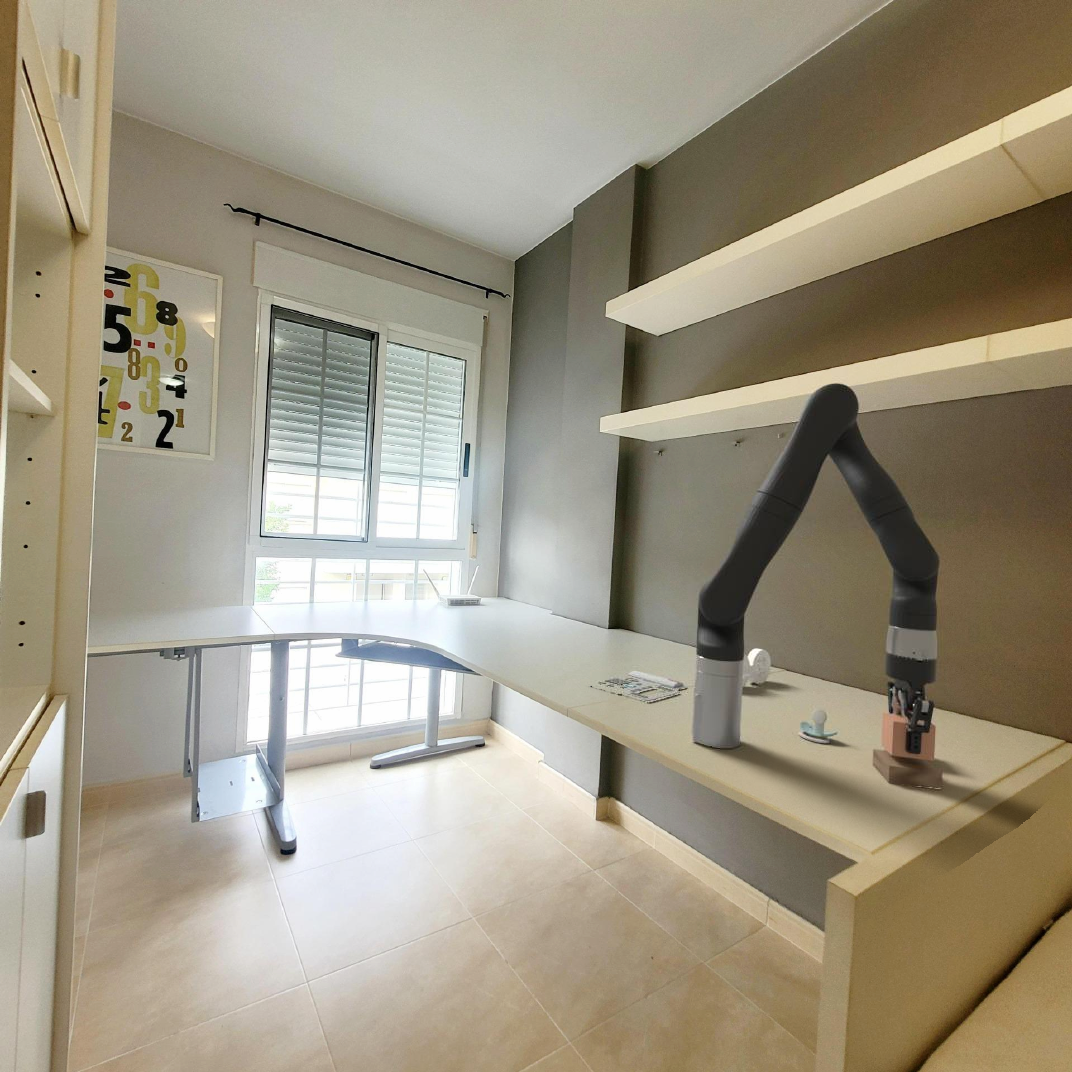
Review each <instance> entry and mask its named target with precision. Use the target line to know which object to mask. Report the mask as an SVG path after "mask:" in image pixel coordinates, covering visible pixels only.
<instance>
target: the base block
mask: <svg viewBox="0 0 1072 1072" xmlns="http://www.w3.org/2000/svg"><path fill="white" fill-rule="evenodd" d="M872 766H873V767H874V768H875V770H876V771H877V772H879V773H878V774H880V775H881V776H882V777H883V778H884V779H885V781H886V782H887V783H888V784H894V785H901V784H904V785H903V786H908V785H910V786H909V787H915V786H921V787H920V788H922V787H932V788H942V789H943V772H942V771H941V770H940V769H939V768H938V767H936V765H934V764H933V763H932V762H930V760H924V759H916V758H908V757H900V756H893V755H891V754H890V753H889V752H888V751H886V750H885V749H877V748H873V750H872Z"/></svg>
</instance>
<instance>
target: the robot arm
mask: <svg viewBox="0 0 1072 1072" xmlns="http://www.w3.org/2000/svg"><path fill="white" fill-rule="evenodd" d="M859 409H860V405H859V399H858V397H857V395H856V393H855V391H854V390H853V389H852V388H851V387H850V386H848V385H846V384H843V383H839V382H838V383H829V384H826V385H823V386H821V387H819V388H818V389H816V390H815V391H814V392H813V393H812V394H810V396H809V398H808V399H806V402H805V405H804V407H803V409H802V412H801V414H800V417H799V419H798V422H797V423H796V426H795V428H794V431H793V432H792V435H791V437H790V439H789V441H788V442H787V445H786V446H785V448H784V450H783V451H782V453H781V454H780V455H779V457H778V458H777V460H776V461H775V463H774V464H773V465H772V467H771V469H770V471H769V472H768V474H767V475H766V477H765V478H764V480H763V481H762V483H761V485H760V486H759V488H758V490H757V491H756V493H755V495H754V496H753V498H752V500H751V502H750V504H749V506H748V507H747V509H746V511H745V513H744V515H743V517H742V519H741V522H740V524H739V527H738V529H737V532H736V535H735V538H734V540H733V543H732V546H731V549H730V550H729V552H728V554H727V556H726V557H725V559H724V561H723V562H722V563H721V565H720V567H719V568H718V569H717V571H716V573H715V574H714V575H713V576H712V578H711V579H710V580H708V581H706V582H705V583H704V584H703V585H702V587H701V589H700V591H699V594H698V603H697V605H698V606H697V628H696V629H697V630H696V652H695V654H696V655H695V656H696V657H695V674H694V676H695V679H694V688H693V702H692V703H693V706H692V708H693V709H692V723H691V726H692V727H691V728H692V729H691V735H692V736H693V737H692V736H691V737H692V742H693V741H694V742H693V743H697V742H698V744H701V745H703V744H704V746H706V747H707V746H708V747H710V746H712V747H711V748H717V749H735V748H738V747H739V746H740V744H741V730H742V729H741V726H742V725H741V724H742V709H743V708H742V707H743V706H742V704H743V688H744V687H743V665H744V654H745V636H744V634H745V633H744V632H745V614H746V612H747V610H748V607H749V605H750V602H751V600H752V598H753V595H754V592H755V591H756V588H757V586H758V584H759V582H760V580H761V577H762V576H763V574H764V572H765V570H766V568H767V567H768V566H769V565H770V562H772V560H773V559H774V557H775V555H776V554H777V553H778V552H779V550H780V549H781V548H782V546H783V544H784V543H785V541H786V540H787V538H788V536H789V535H790V533H791V532H792V530H793V529H794V527H795V525H796V524H797V523H798V520H799V518H800V517H801V515H802V513H803V512H804V510H805V507H806V506H807V503H808V502H809V500H810V497H811V495H812V493H813V490H814V489H815V485H816V483H817V480H818V477H819V474H820V472H821V470H822V467H823V465H824V463H825V460H826V459H827V457H828V456H829V457H830V459H831V461H832V462H833V463H834V464H835V466H836V468H837V469H838V470H839V473H840V474H841V476H842V477H843V479H844V481H845V482H846V486H847V487H848V489H849V490H850V492H851V494H852V496H853V498H854V499H855V502H856V503H857V506H858V507H859V509H860V511H861V513H862V514H863V516H864V518H865V520H866V522H867V523H868V526H870V528H871V530H872V531H873V533H874V534H875V535H876V536H877V538H878V540H879V543H880V546H881V548H882V550H883V552H884V554H885V556H886V558H887V561H888V562H889V564H890V566H891V568H892V596H891V599H890V605H889V616H888V617H889V619H888V629H887V634H886V646H885V648H886V649H885V665H884V667H885V668H884V673H885V675H886V676H887V677H888V678H890V679H894V681H890V680H889V681H887V682H886V685H887V702H888V703H887V704H888V705H887V706H888V714H895V715H902V716H903V717H904V718H905V723H906V730H907V731H906V747H905V750H906V751H907V752H908V753H911V754H920V753H921V739H922V733H929V730H930V725H931V723H932V719H933V713H934V710H935V709H934V708H935V703H934V701H933V700H927V699H928V698H927V693H926V690H925V689H926V687H925V686H926V685H927V684H934V683H935V682H936V681H937V680H936V679H937V661H938V660H937V659H938V658H937V657H938V639H937V626H938V625H937V623H938V621H937V620H938V605H937V600H936V599H937V597H936V596H937V588H938V587H937V586H938V577H939V576H938V575H939V567H940V564H941V562H940V561H941V560H940V556H939V554H938V552H937V550H936V549H935V548H934V546H933V544H932V542H931V541H930V540H929V538H928V536H926V533H924V531H923V529H922V528H921V526H920V525H919V524H918V522H917V520H916V517H915V515H914V513H913V511H912V509H911V507H910V505H909V504H908V501H907V499H906V498H905V497H904V495H903V493H902V492H901V490H900V488H899V487H898V485H897V484H896V483H895V481H894V480H893V478H892V477H891V476H890V475H889V473H888V472H887V471H886V470H885V469H884V467H883V466H882V465H881V464H880V463H879V462H878V460H877V459H876V458H875V456H874V455H873V453H872V452H871V451H870V449H869V448H868V446H867V444H866V442H865V440H864V438H863V435H862V433H861V431H860V427H859V424H858V421H857V417H858V415H859ZM742 687H743V688H742ZM911 718H912V719H911ZM917 722H918V724H919V725H917ZM737 746H738V747H737Z"/></svg>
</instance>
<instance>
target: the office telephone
mask: <svg viewBox="0 0 1072 1072" xmlns="http://www.w3.org/2000/svg"><path fill="white" fill-rule="evenodd" d="M627 675H628V676H632V677H635V678H639V679H643V680H638V679H633V678H631V677H630V678H625V680H622V679H619V678H613V677H612V678H613V679H608V678H606V679H607V680H605V682H604V683H603V682H598V683H599V684H600V685H601V684H606V682H609V683H613V684H609V685H605V686H607V687H608V686H610V687H614V684H617V685H616V686H618V685H619V686H620V685H621V686H622V687H620V688H623V689H624V688H629V689H630V690H621V691H622V692H623V693H627V694H628V693H629V694H628V695H632V696H635V697H639V698H642V699H644V700H645V701H651V700H656V699H658V698H662V697H666V696H671V695H675V694H677V693H680V694H681V691H675V690H671V689H668V688H672V689H681V688H685V687H687V688H688V686H687V685H685V684H684V683H683V682H681V681H677V680H674V679H670V678H665V677H663V676H658V675H654V674H650V673H646V672H642V671H638V670H632V671H630V672H629V673H628V674H627ZM628 679H631V680H628ZM632 679H633V680H632ZM629 681H630V682H629ZM632 682H633V683H634V684H635V683H636V682H639V683H636V685H634V684H632ZM648 682H650V683H651V682H652V683H658V684H661V685H660V686H657V685H642V684H644V683H645V684H646V683H647V684H648ZM629 683H631V684H629ZM650 683H649V684H650ZM623 684H627V685H623ZM596 686H598V685H596ZM661 686H664V687H668V688H664V687H661ZM653 687H655V688H658V689H662V690H664V691H668V692H670V693H664V694H663V693H662V694H660V695H655V696H647V695H643V694H641V693H639V694H637V693H634V692H637V691H642V690H644V689H649V688H653ZM632 689H633V690H632ZM615 691H617V690H615ZM618 691H619V692H620V690H618Z"/></svg>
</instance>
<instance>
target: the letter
mask: <svg viewBox="0 0 1072 1072" xmlns="http://www.w3.org/2000/svg"><path fill="white" fill-rule="evenodd" d="M771 662H772V661H771V656H770V654H769V652H768V651H767V650H765V649H762V648H753V649H752V650H751V651H750V652H749V653H748V655H746V654H745V653H744V665H743V688H744V687H745V686H746V685H747V683H748V682H750V683H752V684H756V685H760V684H759V683H763V684H764V683H765V682H766V681H767V679H768V677H769V675H770V672H771Z"/></svg>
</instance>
